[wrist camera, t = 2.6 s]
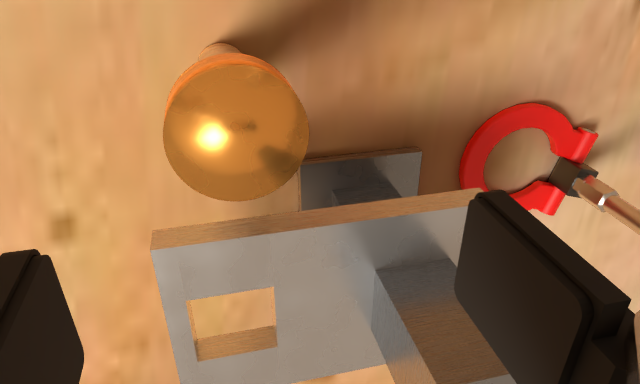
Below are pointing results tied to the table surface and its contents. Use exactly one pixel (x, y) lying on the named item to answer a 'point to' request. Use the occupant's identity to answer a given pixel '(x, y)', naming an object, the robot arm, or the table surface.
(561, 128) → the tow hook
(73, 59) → the table surface
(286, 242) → the grey cross bracket
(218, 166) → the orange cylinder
